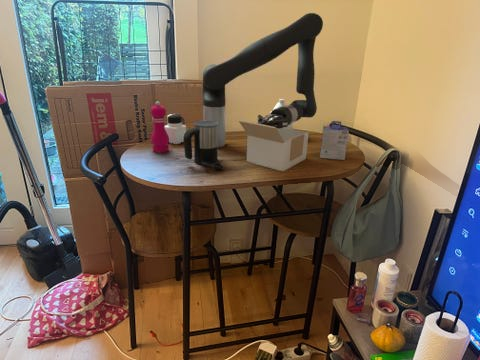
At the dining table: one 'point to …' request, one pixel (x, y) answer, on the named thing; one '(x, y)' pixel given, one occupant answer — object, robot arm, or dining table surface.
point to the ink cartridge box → (334, 141)
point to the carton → (278, 149)
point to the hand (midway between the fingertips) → (259, 126)
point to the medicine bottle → (175, 129)
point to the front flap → (261, 131)
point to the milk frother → (203, 143)
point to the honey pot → (280, 104)
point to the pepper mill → (159, 129)
